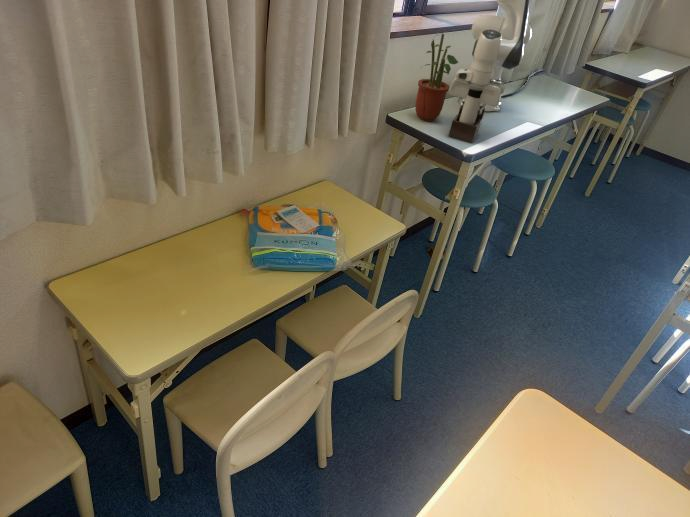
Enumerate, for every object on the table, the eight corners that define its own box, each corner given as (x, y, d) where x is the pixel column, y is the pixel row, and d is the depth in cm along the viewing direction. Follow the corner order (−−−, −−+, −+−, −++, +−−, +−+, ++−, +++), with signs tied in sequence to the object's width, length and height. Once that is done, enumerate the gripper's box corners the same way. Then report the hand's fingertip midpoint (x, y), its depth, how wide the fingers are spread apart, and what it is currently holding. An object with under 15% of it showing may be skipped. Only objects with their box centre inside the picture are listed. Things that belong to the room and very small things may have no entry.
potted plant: (434, 126, 206) (455, 39, 185) (401, 116, 211) (418, 29, 190) (448, 116, 218) (470, 32, 197) (417, 106, 224) (435, 24, 203)
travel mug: (471, 139, 199) (486, 91, 187) (455, 136, 200) (469, 87, 188) (471, 133, 204) (485, 86, 192) (455, 130, 205) (469, 83, 192)
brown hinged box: (454, 128, 207) (462, 100, 200) (477, 134, 205) (485, 106, 197) (448, 136, 199) (455, 108, 192) (471, 143, 196) (480, 114, 189)
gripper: (507, 81, 187) (496, 115, 195) (456, 68, 192) (448, 102, 201) (505, 85, 182) (493, 120, 191) (452, 72, 188) (444, 107, 196)
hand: (469, 111), depth 196 cm, fingers closed on travel mug, 6 cm apart
